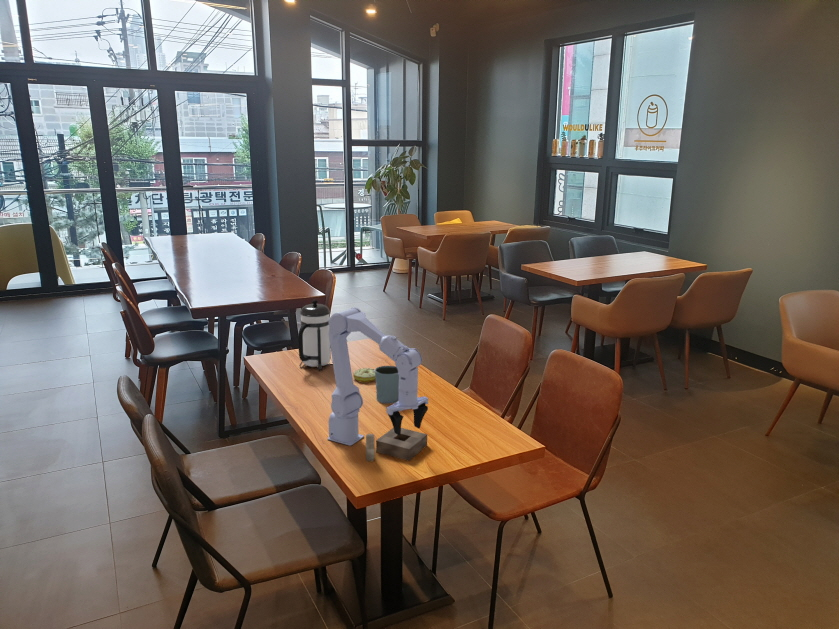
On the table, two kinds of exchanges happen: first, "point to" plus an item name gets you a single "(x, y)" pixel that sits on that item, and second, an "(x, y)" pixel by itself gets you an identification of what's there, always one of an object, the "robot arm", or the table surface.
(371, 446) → the dowel
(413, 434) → the square block with hole
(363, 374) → the decorated donut
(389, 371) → the teal cup
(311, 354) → the coffee press
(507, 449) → the table surface
